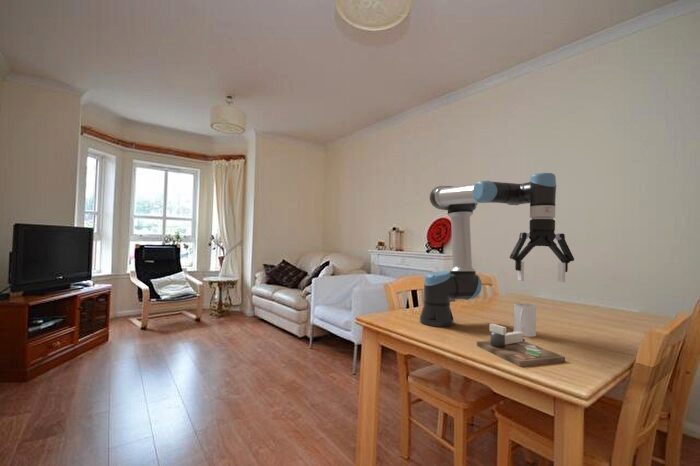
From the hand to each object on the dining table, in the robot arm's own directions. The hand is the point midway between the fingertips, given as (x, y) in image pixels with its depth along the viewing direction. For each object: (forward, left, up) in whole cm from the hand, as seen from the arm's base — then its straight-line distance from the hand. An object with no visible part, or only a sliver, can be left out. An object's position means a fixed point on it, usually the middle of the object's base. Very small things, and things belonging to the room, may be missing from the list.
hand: (540, 281), depth 110 cm
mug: (-21, +14, -25) cm, 35 cm away
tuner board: (-3, -6, -25) cm, 26 cm away
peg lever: (-8, -6, -23) cm, 25 cm away
